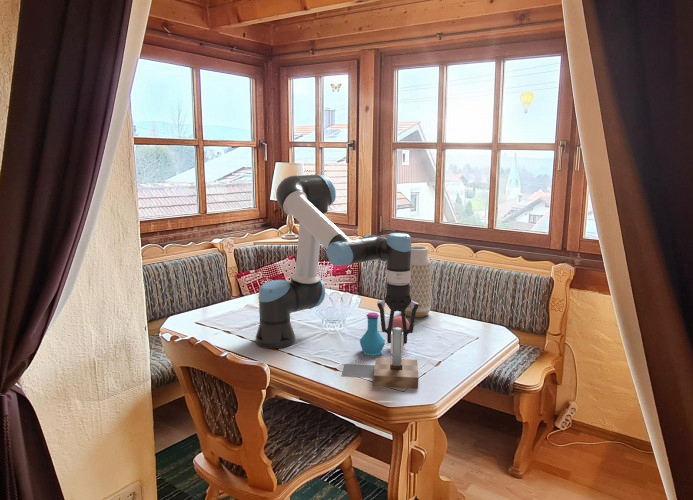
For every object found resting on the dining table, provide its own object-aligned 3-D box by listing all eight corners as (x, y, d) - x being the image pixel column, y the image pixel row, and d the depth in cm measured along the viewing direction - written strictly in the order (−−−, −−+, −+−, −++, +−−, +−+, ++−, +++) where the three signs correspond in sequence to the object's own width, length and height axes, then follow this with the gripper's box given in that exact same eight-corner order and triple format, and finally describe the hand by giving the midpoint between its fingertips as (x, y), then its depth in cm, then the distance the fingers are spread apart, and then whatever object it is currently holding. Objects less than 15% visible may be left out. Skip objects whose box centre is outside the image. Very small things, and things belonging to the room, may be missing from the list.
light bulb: (396, 351, 196) (397, 320, 194) (386, 345, 203) (387, 315, 200) (412, 348, 200) (413, 318, 197) (402, 342, 206) (402, 312, 204)
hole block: (373, 387, 168) (373, 375, 167) (375, 368, 182) (375, 357, 181) (418, 389, 166) (418, 377, 166) (416, 370, 180) (417, 359, 179)
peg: (392, 365, 171) (392, 330, 169) (392, 362, 174) (392, 327, 172) (401, 366, 171) (402, 330, 169) (401, 362, 174) (401, 327, 172)
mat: (341, 377, 175) (341, 376, 175) (344, 364, 185) (344, 363, 184) (377, 379, 174) (377, 378, 174) (378, 366, 183) (378, 365, 183)
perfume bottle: (358, 348, 199) (358, 310, 196) (382, 347, 200) (383, 309, 197) (361, 358, 190) (361, 318, 188) (386, 357, 191) (387, 317, 188)
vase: (435, 312, 242) (438, 246, 235) (423, 321, 230) (425, 252, 224) (408, 307, 249) (410, 243, 243) (394, 315, 237) (396, 248, 231)
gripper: (372, 284, 165) (372, 356, 169) (423, 286, 163) (421, 358, 168) (374, 278, 172) (373, 347, 177) (422, 280, 170) (420, 349, 175)
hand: (396, 352), depth 172 cm, fingers closed on peg, 3 cm apart
